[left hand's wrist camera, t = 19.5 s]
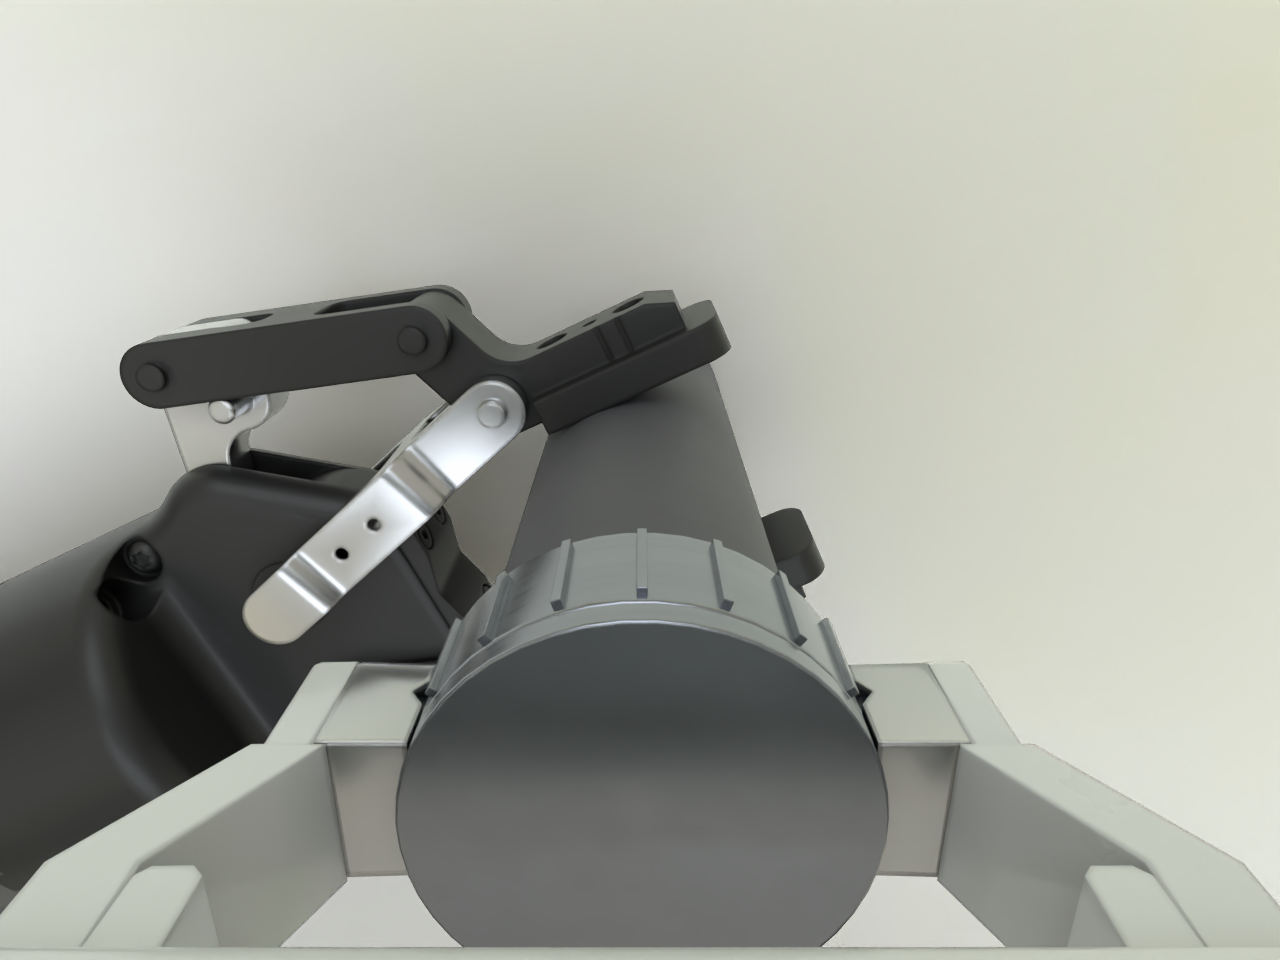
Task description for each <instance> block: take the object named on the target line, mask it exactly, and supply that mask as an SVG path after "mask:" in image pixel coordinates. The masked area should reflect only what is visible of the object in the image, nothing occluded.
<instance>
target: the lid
mask: <svg viewBox="0 0 1280 960" xmlns="http://www.w3.org/2000/svg"><path fill="white" fill-rule="evenodd" d="M858 694H859V691H858V689H857V686H856V684H855V681H854V679H853V676H852V674H851V671H850V669H849V666H848V664H847V661H846V659H845V656H844V654H843V651H842V649H841V646H840V644H839V641H838V639H837V636H836V634H835V631H834V629H833V626H832V624H831V622H830V621H829V619H828V618H825V619H823V620H821V618H820V617H819V616H818V615H817V613H816V612H815V611H814V610H813V608H812V607H811V606H810V605H809V604H808V602H807V601H806V600H805V599H804V598H803V597H802V596H801V595H800V594H799V593H798V592H797V591H796V590H795V589H794V588H793V587H791V586H790V585H789V582H788V579H787V576H786V574H784V573H783V572H782V571H780V570H779V571H778V572H777V573H776V574H775V573H773V572H772V571H771V570H769V569H768V568H766V567H765V566H763V565H762V564H760V563H758V562H756V561H754V560H752V559H750V558H748V557H746V556H744V555H742V554H740V553H739V552H736V551H733V550H730V549H728V548H725V547H723V545H722V541H719V540H716V539H713V540H712V542H707V541H703V540H699V539H695V538H690V537H686V536H681V535H671V534H662V533H647V529H646V528H638V529H637V533H620V534H612V535H605V536H597V537H593V538H589V539H585V540H581V541H577V542H573V543H572V541H571V539H567V540H564V541H562V543H561V547H559V548H556V549H553V550H551V551H548V552H546V553H543V554H541V555H539V556H537V557H535V558H533V559H532V560H530V561H528V562H526V563H524V564H522V565H521V566H519V567H517V568H516V569H514V570H513V571H511V572H510V573H509V574H508V573H507V572H506V571H505V570H504V571H502V572H501V573H499V574H498V575H497V578H496V581H495V584H494V585H493V586H492V587H491V588H490V589H489V590H488V591H487V592H486V593H485V594H484V595H483V596H482V597H481V598H480V599H479V600H478V601H476V603H475V604H474V605H473V607H472V608H471V609H470V610H469V612H468V613H467V614H466V616H465V617H464V618H463V620H462V621H461V620H460V619H458V618H456V619H455V620H454V622H453V623H452V625H451V628H450V630H449V633H448V635H447V638H446V641H445V643H444V646H443V648H442V651H441V653H440V656H439V658H438V661H437V663H436V666H435V669H434V671H433V674H432V676H431V679H430V681H429V684H428V686H427V689H426V691H425V695H427V696H429V697H428V699H427V700H425V701H422V702H421V703H422V708H423V712H422V715H421V717H420V720H419V723H418V725H417V728H416V730H415V733H414V736H413V738H412V741H411V744H410V746H409V749H408V752H407V754H406V757H405V760H404V762H403V765H402V768H401V771H400V776H399V781H398V786H397V791H396V803H395V824H396V831H397V838H398V845H399V850H400V853H401V856H402V859H403V862H404V865H405V869H406V872H407V874H408V876H409V878H410V880H411V882H412V884H413V886H414V888H415V890H416V892H417V894H418V896H419V898H420V899H421V900H422V902H423V903H424V905H425V906H426V908H427V909H428V911H429V912H430V913H431V915H432V916H433V918H434V919H435V920H436V921H437V922H438V923H439V924H440V925H441V926H442V927H443V929H444V930H445V931H446V932H447V933H448V934H449V935H450V936H451V937H452V938H453V939H454V940H456V941H457V942H458V943H459V944H460V945H461V946H463V947H821V946H822V945H824V944H825V943H826V942H827V941H828V940H829V939H830V938H832V937H833V936H834V935H835V934H836V933H837V932H838V931H839V930H840V929H841V927H842V926H843V925H844V924H845V923H846V922H847V921H848V919H849V918H850V917H851V916H852V915H853V914H854V912H855V911H856V909H857V908H858V906H859V905H860V903H861V902H862V900H863V899H864V897H865V896H866V894H867V893H868V891H869V889H870V886H871V884H872V882H873V880H874V878H875V876H876V874H877V871H878V869H879V866H880V863H881V859H882V856H883V852H884V849H885V846H886V840H887V832H888V823H889V801H888V789H887V785H886V780H885V775H884V771H883V766H882V764H881V761H880V758H879V756H878V753H877V751H876V748H875V746H874V743H873V741H872V738H871V735H870V733H869V730H868V728H867V725H866V723H865V720H864V718H863V715H862V707H863V703H864V702H863V701H861V700H859V699H857V698H856V697H855V696H856V695H858Z"/></svg>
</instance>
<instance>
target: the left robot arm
mask: <svg viewBox="0 0 1280 960" xmlns="http://www.w3.org/2000/svg"><path fill="white" fill-rule="evenodd" d="M435 666H436V664H431V663H382V662H362V663H359V662H321V663H319V664H316V665H315V666H314V667H313V668H312V669H311V671H310V672H309V674H308V675H307V677H306V679H305V680H304V682H303V683H302V685H301V686H300V688H299V690H298V691H297V693H296V694H295V696H294V697H293V699H292V701H291V702H290V704H289V705H288V707H287V708H286V710H285V712H284V713H283V715H282V716H281V718H280V719H279V721H278V723H277V724H276V726H275V727H274V729H273V730H272V732H271V734H270V735H269V737H268V738H267V740H266V741H265V743H264V744H250V745H249V746H247V747H245V748H243V749H242V750H240V751H238V752H236V753H235V754H233V755H231V756H229V757H228V758H226V759H224V760H222V761H221V762H219V763H217V764H215V765H214V766H212V767H210V768H208V769H207V770H205V771H203V772H201V773H200V774H198V775H196V776H194V777H193V778H191V779H189V780H187V781H186V782H184V783H182V784H180V785H179V786H177V787H175V788H173V789H172V790H170V791H168V792H166V793H164V794H163V795H161V796H159V797H157V798H156V799H154V800H152V801H150V802H149V803H147V804H145V805H143V806H142V807H140V808H138V809H136V810H135V811H133V812H131V813H129V814H128V815H126V816H124V817H122V818H121V819H119V820H117V821H115V822H114V823H112V824H110V825H108V826H107V827H105V828H103V829H101V830H100V831H98V832H96V833H94V834H93V835H91V836H89V837H87V838H86V839H84V840H82V841H80V842H79V843H77V844H75V845H73V846H71V847H70V848H68V849H66V850H64V851H63V852H61V853H59V854H57V855H56V856H54V857H52V858H50V859H49V860H47V861H45V862H44V863H43V864H42V865H41V867H40V868H39V869H38V870H37V871H36V873H35V874H34V875H33V876H32V877H31V879H30V880H29V881H28V882H27V883H26V885H25V886H24V887H23V888H22V889H21V890H20V892H19V893H18V894H17V895H16V896H15V898H14V899H13V900H12V901H11V902H10V904H9V905H8V906H7V907H6V908H5V910H4V911H3V912H2V913H1V914H0V960H1280V906H1279V905H1278V904H1277V902H1276V901H1275V900H1274V899H1273V898H1272V896H1271V895H1270V894H1269V893H1268V892H1267V891H1266V889H1265V888H1264V887H1263V886H1262V885H1261V883H1260V882H1259V881H1258V880H1257V879H1256V877H1255V876H1254V875H1253V874H1252V873H1251V872H1250V870H1249V869H1248V868H1247V867H1246V866H1245V864H1244V863H1242V862H1240V861H1239V860H1237V859H1235V858H1233V857H1232V856H1230V855H1228V854H1226V853H1225V852H1223V851H1221V850H1219V849H1218V848H1216V847H1214V846H1212V845H1211V844H1209V843H1207V842H1205V841H1204V840H1202V839H1200V838H1198V837H1197V836H1195V835H1193V834H1191V833H1189V832H1188V831H1186V830H1184V829H1182V828H1181V827H1179V826H1177V825H1175V824H1174V823H1172V822H1170V821H1168V820H1167V819H1165V818H1163V817H1161V816H1160V815H1158V814H1156V813H1154V812H1153V811H1151V810H1149V809H1147V808H1146V807H1144V806H1142V805H1140V804H1138V803H1137V802H1135V801H1133V800H1131V799H1130V798H1128V797H1126V796H1124V795H1123V794H1121V793H1119V792H1117V791H1116V790H1114V789H1112V788H1110V787H1109V786H1107V785H1105V784H1103V783H1102V782H1100V781H1098V780H1096V779H1095V778H1093V777H1091V776H1089V775H1087V774H1086V773H1084V772H1082V771H1080V770H1079V769H1077V768H1075V767H1073V766H1072V765H1070V764H1068V763H1066V762H1065V761H1063V760H1061V759H1059V758H1058V757H1056V756H1054V755H1052V754H1051V753H1049V752H1047V751H1045V750H1044V749H1042V748H1040V747H1038V746H1036V745H1035V744H1021V743H1020V741H1019V740H1018V738H1017V737H1016V735H1015V734H1014V732H1013V731H1012V729H1011V727H1010V726H1009V724H1008V723H1007V721H1006V720H1005V718H1004V717H1003V715H1002V714H1001V712H1000V711H999V709H998V708H997V706H996V705H995V703H994V701H993V700H992V698H991V697H990V695H989V694H988V692H987V691H986V689H985V688H984V686H983V685H982V683H981V682H980V680H979V679H978V677H977V675H976V674H975V672H974V671H973V669H972V668H971V666H970V665H969V664H967V663H965V662H963V661H957V662H930V663H911V664H864V665H848V666H849V669H850V671H851V674H852V676H853V679H854V681H855V684H856V686H857V689H858V691H859V694H858V695H856V696H855V697H856V698H857V699H859V700H861V701H863V702H864V703H863V707H862V715H863V718H864V720H865V723H866V725H867V728H868V730H869V733H870V735H871V738H872V741H873V743H874V746H875V748H876V751H877V753H878V756H879V758H880V761H881V764H882V766H883V771H884V775H885V780H886V785H887V789H888V801H889V823H888V832H887V840H886V846H885V849H884V852H883V856H882V859H881V863H880V866H879V869H878V871H877V874H876V875H889V876H925V877H938V879H937V880H938V881H939V882H940V883H941V884H942V885H943V886H944V887H945V888H946V889H947V890H948V891H949V892H950V893H951V894H952V895H953V896H954V897H955V898H956V899H957V900H958V901H959V902H960V903H961V904H962V905H963V906H964V907H965V908H966V909H967V910H969V911H970V912H971V913H972V914H973V915H974V916H975V917H976V918H977V919H978V920H979V921H980V922H981V923H982V924H983V925H984V926H985V927H986V928H987V929H988V930H989V931H990V932H991V933H992V934H993V935H994V936H995V937H996V938H997V939H998V940H1000V941H1001V942H1002V943H1003V944H1004V945H1005V946H1006V947H280V946H281V945H282V944H283V943H284V942H285V941H286V940H287V939H288V938H289V937H290V936H291V935H292V934H293V933H294V932H295V931H296V930H297V929H298V928H299V927H300V926H301V925H302V924H304V923H305V922H306V921H307V920H308V919H309V918H310V917H311V916H312V915H313V914H314V913H315V912H316V911H317V910H318V909H319V908H320V907H321V906H322V905H323V904H324V903H325V902H326V901H327V900H328V899H329V898H330V897H331V896H332V895H333V894H334V893H335V892H336V891H337V890H339V889H340V888H341V887H342V886H343V885H344V884H345V883H346V882H347V877H360V876H394V875H408V874H407V872H406V869H405V865H404V862H403V859H402V856H401V853H400V850H399V845H398V838H397V831H396V824H395V803H396V791H397V786H398V781H399V776H400V771H401V768H402V765H403V762H404V760H405V757H406V754H407V752H408V749H409V746H410V744H411V741H412V738H413V736H414V733H415V730H416V728H417V725H418V723H419V720H420V717H421V715H422V712H423V708H422V703H421V702H422V701H425V700H427V699H428V697H429V696H427V695H425V691H426V689H427V686H428V684H429V681H430V679H431V676H432V674H433V671H434V669H435Z"/></svg>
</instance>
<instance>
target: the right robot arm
mask: <svg viewBox="0 0 1280 960" xmlns="http://www.w3.org/2000/svg"><path fill="white" fill-rule="evenodd" d="M730 348H731V345H730V343H729V340H728V338H727V336H726V334H725V331H724V329H723V327H722V324H721V322H720V320H719V317H718V315H717V313H716V311H715V308H714V306H713V304H712V302H711V301H710V300H707V301H702V302H699V303H696V304H693V305H691V306H689V307H686V308H684V309H682V310H681V308H680V306H679V304H678V302H677V300H676V297H675V295H674V293H673V291H672V290H662V291H645V292H642V293H640V294H638V295H636V296H634V297H632V298H630V299H628V300H626V301H623V302H621V303H620V304H618V305H615V306H613V307H611V308H609V309H606V310H604V311H602V312H601V313H599V314H596V315H594V316H592V317H590V318H587V319H585V320H583V321H581V322H579V323H577V324H575V325H573V326H570V327H568V328H566V329H564V330H562V331H560V332H558V333H556V334H554V335H551V336H549V337H547V338H545V339H543V340H541V341H539V342H536V343H533V344H529V345H514V344H510V343H507V342H505V341H503V340H501V339H499V338H498V337H496V336H495V335H494V334H493V333H492V332H491V331H490V330H488V329H487V328H486V327H485V326H484V325H483V324H482V323H481V322H480V321H479V320H478V319H477V318H476V317H475V316H473V315H472V311H471V307H470V305H469V303H468V301H467V299H466V298H465V297H464V296H463V295H462V294H461V293H460V292H459V291H458V290H456V289H454V288H452V287H449V286H446V285H434V286H427V287H420V288H413V289H406V290H399V291H392V292H385V293H378V294H371V295H364V296H357V297H351V298H344V299H337V300H330V301H323V302H316V303H309V304H302V305H295V306H288V307H281V308H274V309H267V310H260V311H254V312H247V313H240V314H233V315H226V316H219V317H212V318H206V319H202V320H199V321H197V322H194V323H191V324H189V325H186V326H183V327H180V328H178V329H175V330H173V331H170V332H168V333H165V334H162V335H160V336H157V337H155V338H153V339H151V340H148V341H146V342H143V343H141V344H138V345H136V346H134V347H132V348H130V349H129V350H128V351H127V352H126V353H125V354H124V356H123V357H122V360H121V363H120V376H121V380H122V383H123V385H124V387H125V388H126V390H127V391H128V393H129V394H130V395H131V396H132V397H133V398H134V399H136V400H137V401H138V402H140V403H142V404H143V405H146V406H148V407H152V408H157V409H164V410H165V412H166V415H167V418H168V421H169V424H170V426H171V429H172V432H173V435H174V438H175V440H176V443H177V446H178V449H179V452H180V454H181V457H182V460H183V463H184V466H185V468H186V471H187V473H186V474H185V475H183V476H182V477H181V478H180V479H179V480H178V481H177V482H176V483H175V484H174V485H173V487H172V488H171V490H170V491H169V493H168V495H167V497H166V499H165V501H164V503H163V504H162V506H161V507H160V508H159V509H157V510H155V511H153V512H151V513H149V514H147V515H145V516H143V517H140V518H138V519H136V520H134V521H132V522H130V523H128V524H126V525H124V526H121V527H119V528H117V529H115V530H113V531H111V532H109V533H107V534H105V535H102V536H100V537H98V538H96V539H94V540H92V541H90V542H88V543H86V544H83V545H81V546H79V547H77V548H75V549H73V550H71V551H69V552H67V553H64V554H62V555H60V556H58V557H56V558H54V559H52V560H50V561H48V562H45V563H43V564H41V565H39V566H37V567H35V568H33V569H31V570H29V571H27V572H24V573H22V574H20V575H18V576H16V577H14V578H12V579H10V580H7V581H5V582H3V583H1V584H0V914H1V913H2V912H3V911H4V910H5V908H6V907H7V906H8V905H9V904H10V902H11V901H12V900H13V899H14V898H15V896H16V895H17V894H18V893H19V892H20V890H21V889H22V888H23V887H24V886H25V885H26V883H27V882H28V881H29V880H30V879H31V877H32V876H33V875H34V874H35V873H36V871H37V870H38V869H39V868H40V867H41V865H42V864H43V863H44V862H45V861H47V860H49V859H50V858H52V857H54V856H56V855H57V854H59V853H61V852H63V851H64V850H66V849H68V848H70V847H71V846H73V845H75V844H77V843H79V842H80V841H82V840H84V839H86V838H87V837H89V836H91V835H93V834H94V833H96V832H98V831H100V830H101V829H103V828H105V827H107V826H108V825H110V824H112V823H114V822H115V821H117V820H119V819H121V818H122V817H124V816H126V815H128V814H129V813H131V812H133V811H135V810H136V809H138V808H140V807H142V806H143V805H145V804H147V803H149V802H150V801H152V800H154V799H156V798H157V797H159V796H161V795H163V794H164V793H166V792H168V791H170V790H172V789H173V788H175V787H177V786H179V785H180V784H182V783H184V782H186V781H187V780H189V779H191V778H193V777H194V776H196V775H198V774H200V773H201V772H203V771H205V770H207V769H208V768H210V767H212V766H214V765H215V764H217V763H219V762H221V761H222V760H224V759H226V758H228V757H229V756H231V755H233V754H235V753H236V752H238V751H240V750H242V749H243V748H245V747H247V746H249V745H250V744H264V743H265V741H266V740H267V738H268V737H269V735H270V734H271V732H272V730H273V729H274V727H275V726H276V724H277V723H278V721H279V719H280V718H281V716H282V715H283V713H284V712H285V710H286V708H287V707H288V705H289V704H290V702H291V701H292V699H293V697H294V696H295V694H296V693H297V691H298V690H299V688H300V686H301V685H302V683H303V682H304V680H305V679H306V677H307V675H308V674H309V672H310V671H311V669H312V668H313V667H314V666H315V665H316V664H319V663H321V662H359V663H362V662H382V663H431V664H436V663H437V661H438V658H439V656H440V653H441V651H442V648H443V646H444V643H445V641H446V638H447V635H448V633H449V630H450V628H451V625H452V623H453V622H454V620H455V619H456V618H458V619H460V620H461V621H462V620H463V618H464V617H465V616H466V614H467V613H468V612H469V610H470V609H471V608H472V607H473V605H474V604H475V603H476V601H478V600H479V599H480V598H481V597H482V596H483V595H484V594H485V593H486V592H487V591H488V590H489V589H490V588H491V587H492V586H491V585H490V583H489V581H488V580H487V578H486V576H485V575H484V574H483V573H482V572H481V571H480V570H479V569H478V568H477V567H476V566H475V565H474V564H473V563H472V562H471V561H470V560H469V559H468V558H467V557H466V556H465V555H464V554H463V553H462V552H461V551H460V549H459V547H458V543H457V540H456V536H455V532H454V529H453V525H452V522H451V518H450V516H449V514H448V513H447V511H446V509H445V508H444V506H443V504H444V503H445V502H446V501H447V499H448V498H449V497H450V496H451V495H452V494H453V493H454V492H455V491H456V490H457V489H458V488H459V487H460V486H461V485H462V484H463V483H464V482H465V481H467V480H468V479H469V478H470V477H471V476H472V475H473V474H474V473H476V472H477V471H478V470H479V469H480V468H481V467H482V466H483V465H485V464H486V463H487V462H488V461H489V460H490V459H491V458H492V457H494V456H495V455H496V454H497V453H498V452H499V451H500V450H501V449H502V448H504V447H505V446H506V445H507V444H508V443H509V442H510V441H511V440H513V439H514V438H515V437H516V436H517V435H518V434H519V433H521V432H523V431H525V430H527V429H529V428H532V427H534V426H536V425H538V424H540V423H543V425H544V427H545V429H546V431H547V432H548V434H549V435H551V434H553V433H556V432H558V431H560V430H562V429H564V428H567V427H569V426H571V425H573V424H575V423H578V422H580V421H582V420H583V419H586V418H588V417H590V416H592V415H594V414H596V413H599V412H602V411H604V410H606V409H609V408H611V407H613V406H615V405H617V404H620V403H622V402H624V401H626V400H629V399H631V398H633V397H635V396H637V395H640V394H642V393H644V392H646V391H648V390H651V389H653V388H655V387H657V386H659V385H662V384H664V383H666V382H668V381H671V380H673V379H675V378H677V377H679V376H682V375H684V374H686V373H688V372H690V371H693V370H695V369H697V368H699V367H701V366H704V365H706V364H708V363H710V362H712V361H714V360H716V359H718V358H719V357H721V356H723V355H724V354H725V353H727V352H728V351H729V350H730ZM410 374H416V375H417V376H418V377H419V378H421V379H422V380H423V381H424V382H425V383H426V384H427V385H428V386H430V387H431V388H432V389H433V390H434V391H435V392H436V393H437V394H439V395H440V396H441V397H442V398H443V399H444V400H445V401H444V402H443V403H442V404H441V405H440V406H439V407H438V408H437V409H436V410H434V411H433V412H431V413H430V414H429V415H428V416H427V417H425V418H424V419H423V420H422V421H421V422H420V423H419V424H418V425H417V426H416V427H415V428H414V429H412V430H411V431H410V432H409V433H408V434H407V435H406V436H405V437H404V438H403V439H402V440H401V441H400V442H399V443H397V444H396V445H395V446H394V447H393V448H392V449H391V450H390V451H389V452H388V453H387V454H386V455H385V456H384V457H382V458H381V459H380V460H379V461H378V462H377V463H376V464H375V465H374V466H373V467H372V468H371V469H368V468H362V467H357V466H351V465H345V464H340V463H334V462H328V461H323V460H317V459H311V458H306V457H300V456H294V455H289V454H283V453H277V452H272V451H266V450H261V449H255V448H250V447H249V434H250V431H251V429H254V428H257V427H258V426H260V425H261V424H263V423H264V422H265V421H267V420H268V419H270V418H271V417H272V416H274V415H275V414H276V413H278V412H279V411H280V410H281V409H282V408H283V407H284V406H285V404H286V402H287V399H288V391H295V390H302V389H309V388H316V387H323V386H331V385H338V384H345V383H352V382H359V381H366V380H374V379H381V378H388V377H395V376H402V375H410ZM761 520H762V523H763V526H764V529H765V533H766V536H767V539H768V542H769V545H770V548H771V551H772V554H773V557H774V560H775V563H776V566H777V570H778V571H779V570H780V571H782V572H783V573H784V574H786V576H787V579H788V582H789V585H790V586H791V587H793V588H794V589H795V590H796V591H797V592H798V593H799V594H800V595H801V596H802V597H803V598H805V597H806V595H805V593H804V590H803V587H802V586H803V585H805V584H807V583H810V582H811V581H813V580H814V579H816V578H817V577H818V576H819V575H820V574H821V573H822V572H823V570H824V562H823V560H822V558H821V556H820V553H819V551H818V549H817V546H816V544H815V542H814V539H813V537H812V535H811V532H810V530H809V528H808V526H807V523H806V521H805V519H804V517H803V514H802V512H801V511H800V510H799V509H796V508H787V509H783V510H779V511H777V512H774V513H772V514H769V515H767V516H765V517H762V518H761Z"/></svg>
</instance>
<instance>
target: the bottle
mask: <svg viewBox="0 0 1280 960" xmlns="http://www.w3.org/2000/svg"><path fill="white" fill-rule="evenodd" d="M638 528H646V529H647V533H662V534H671V535H681V536H686V537H690V538H695V539H699V540H703V541H707V542H712V540H713V539H716V540H719V541H722V545H723V547H725V548H728V549H730V550H733V551H736V552H739V553H740V554H742V555H744V556H746V557H748V558H750V559H752V560H754V561H756V562H758V563H760V564H762V565H763V566H765V567H766V568H768V569H769V570H771V571H772V572H773V573H775V574H776V573H777V572H778V570H777V566H776V563H775V560H774V557H773V554H772V551H771V548H770V545H769V542H768V539H767V536H766V533H765V529H764V526H763V523H762V520H761V517H760V514H759V511H758V508H757V505H756V502H755V499H754V496H753V492H752V489H751V486H750V483H749V480H748V477H747V474H746V471H745V468H744V465H743V462H742V459H741V455H740V452H739V449H738V446H737V443H736V440H735V437H734V434H733V431H732V428H731V425H730V422H729V418H728V415H727V412H726V409H725V406H724V403H723V400H722V397H721V394H720V391H719V388H718V385H717V382H716V378H715V375H714V373H713V370H712V368H711V366H710V364H709V363H708V364H706V365H704V366H701V367H699V368H697V369H695V370H693V371H690V372H688V373H686V374H684V375H682V376H679V377H677V378H675V379H673V380H671V381H668V382H666V383H664V384H662V385H659V386H657V387H655V388H653V389H651V390H648V391H646V392H644V393H642V394H640V395H637V396H635V397H633V398H631V399H629V400H626V401H624V402H622V403H620V404H617V405H615V406H613V407H611V408H609V409H606V410H604V411H602V412H599V413H596V414H594V415H592V416H590V417H588V418H586V419H583V420H582V421H580V422H578V423H575V424H573V425H571V426H569V427H567V428H564V429H562V430H560V431H558V432H556V433H553V434H551V435H548V438H547V441H546V444H545V447H544V450H543V454H542V457H541V460H540V463H539V466H538V469H537V472H536V475H535V479H534V482H533V485H532V488H531V491H530V494H529V497H528V501H527V504H526V507H525V510H524V513H523V516H522V519H521V523H520V526H519V529H518V532H517V535H516V538H515V541H514V545H513V548H512V551H511V554H510V557H509V560H508V563H507V567H506V570H505V571H506V572H507V573H508V574H509V573H510V572H511V571H513V570H514V569H516V568H517V567H519V566H521V565H522V564H524V563H526V562H528V561H530V560H532V559H533V558H535V557H537V556H539V555H541V554H543V553H546V552H548V551H551V550H553V549H556V548H559V547H561V543H562V541H564V540H567V539H571V541H572V543H573V542H577V541H581V540H585V539H589V538H593V537H597V536H605V535H612V534H620V533H637V529H638Z"/></svg>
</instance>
